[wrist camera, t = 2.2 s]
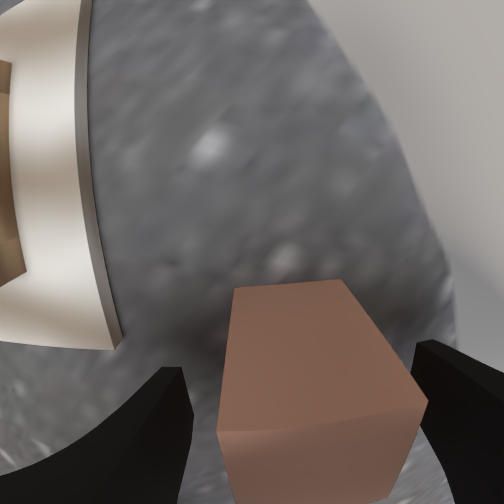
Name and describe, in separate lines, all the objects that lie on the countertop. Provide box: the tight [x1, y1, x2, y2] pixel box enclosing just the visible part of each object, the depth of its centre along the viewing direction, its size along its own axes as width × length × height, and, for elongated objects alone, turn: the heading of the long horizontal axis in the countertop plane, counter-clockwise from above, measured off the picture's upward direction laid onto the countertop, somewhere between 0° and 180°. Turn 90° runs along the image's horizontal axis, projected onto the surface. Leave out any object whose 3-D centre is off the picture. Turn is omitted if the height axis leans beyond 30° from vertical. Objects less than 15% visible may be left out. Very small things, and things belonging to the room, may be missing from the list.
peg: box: [216, 279, 428, 504], centre depth 9 cm, size 4×4×7 cm
